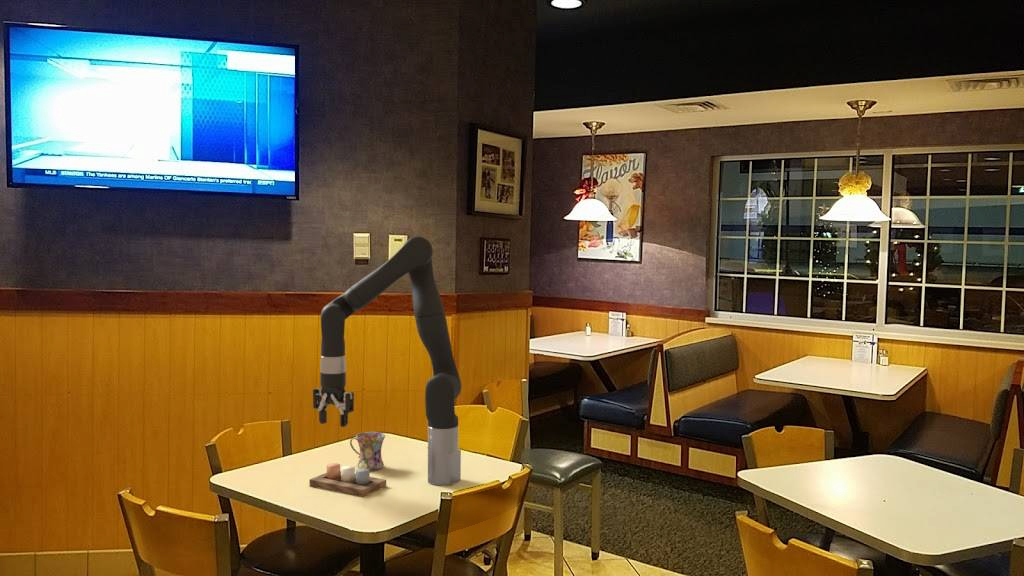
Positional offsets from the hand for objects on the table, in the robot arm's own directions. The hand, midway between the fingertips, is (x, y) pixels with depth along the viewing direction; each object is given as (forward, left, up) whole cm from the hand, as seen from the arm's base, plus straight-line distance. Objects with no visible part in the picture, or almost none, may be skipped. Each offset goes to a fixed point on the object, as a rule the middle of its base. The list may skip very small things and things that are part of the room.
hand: (333, 424), depth 238 cm
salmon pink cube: (0, 0, -16) cm, 16 cm away
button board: (-6, 0, -18) cm, 19 cm away
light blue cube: (-11, 0, -16) cm, 20 cm away
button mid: (-6, 0, -16) cm, 17 cm away
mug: (+1, -18, -18) cm, 26 cm away
